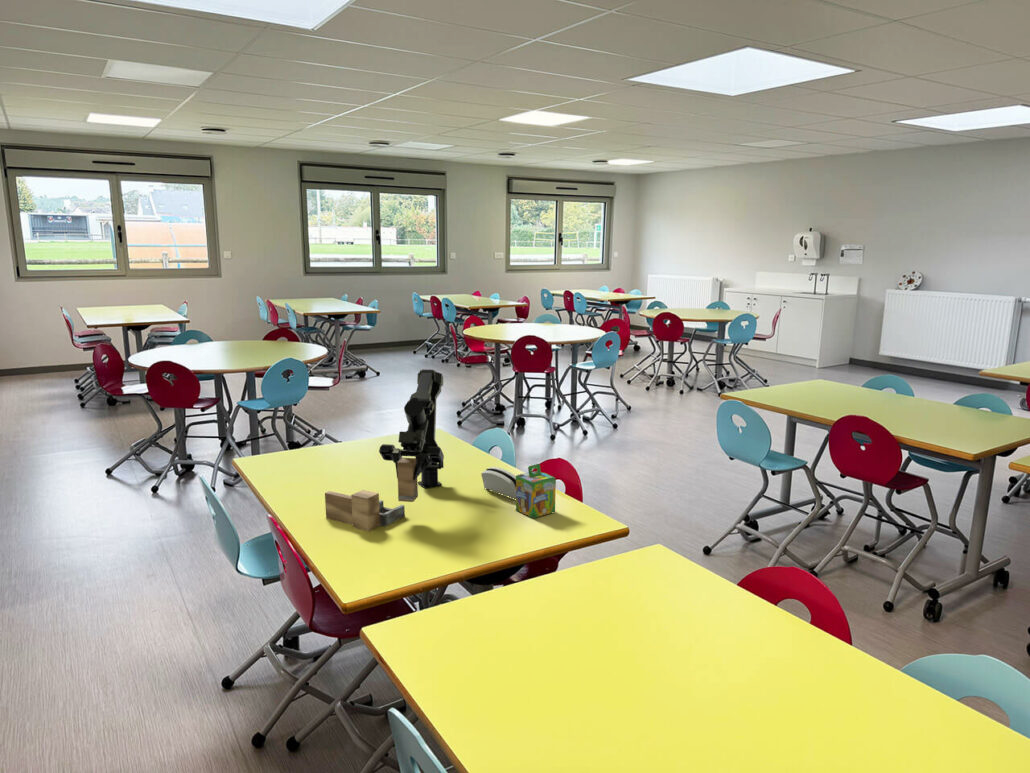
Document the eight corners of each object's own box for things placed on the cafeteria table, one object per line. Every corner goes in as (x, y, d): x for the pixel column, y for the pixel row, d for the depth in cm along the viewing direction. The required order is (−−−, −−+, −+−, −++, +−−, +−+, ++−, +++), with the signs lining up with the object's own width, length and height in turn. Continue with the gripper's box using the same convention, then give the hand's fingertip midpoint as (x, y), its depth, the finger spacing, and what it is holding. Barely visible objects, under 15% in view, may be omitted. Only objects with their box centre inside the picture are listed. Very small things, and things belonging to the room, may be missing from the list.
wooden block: (403, 495, 210) (402, 457, 208) (418, 496, 210) (416, 458, 207) (398, 501, 206) (396, 462, 204) (413, 502, 205) (412, 462, 203)
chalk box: (533, 519, 210) (533, 472, 207) (514, 510, 217) (514, 465, 214) (556, 512, 216) (557, 466, 213) (537, 504, 223) (538, 459, 220)
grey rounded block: (528, 497, 229) (521, 472, 225) (518, 505, 226) (511, 479, 222) (495, 485, 241) (487, 460, 237) (485, 492, 238) (477, 468, 234)
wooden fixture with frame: (355, 504, 222) (354, 474, 220) (404, 516, 212) (403, 484, 211) (322, 519, 210) (320, 488, 208) (373, 532, 200) (371, 499, 198)
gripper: (379, 418, 209) (367, 464, 200) (440, 420, 205) (430, 468, 197) (389, 436, 218) (378, 482, 209) (447, 439, 215) (438, 485, 206)
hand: (405, 479), depth 205 cm, fingers closed on wooden block, 4 cm apart
